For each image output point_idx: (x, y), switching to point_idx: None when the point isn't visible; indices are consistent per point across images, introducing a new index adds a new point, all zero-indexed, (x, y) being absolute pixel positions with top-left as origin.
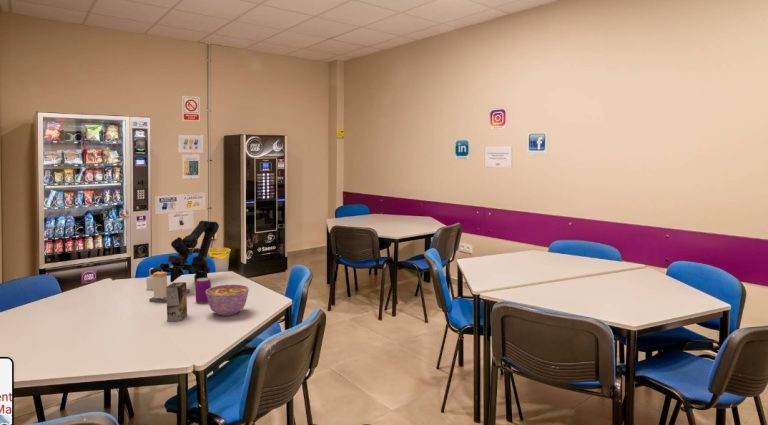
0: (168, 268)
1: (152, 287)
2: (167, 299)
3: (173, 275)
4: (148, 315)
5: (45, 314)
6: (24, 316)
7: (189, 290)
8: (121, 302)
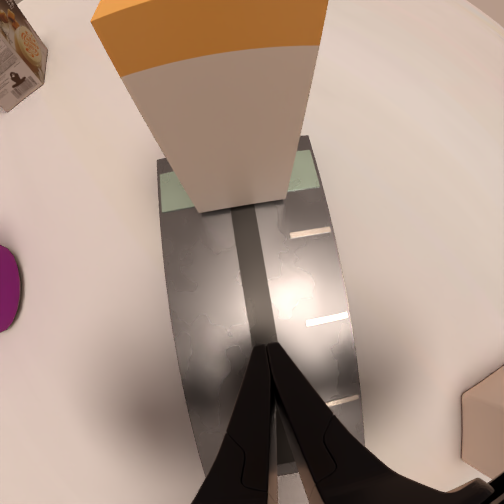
0: (475, 483)
1: (501, 376)
2: (13, 5)
3: (259, 428)
4: None
5: (448, 7)
6: (460, 3)
7: (206, 472)
8: (426, 104)
